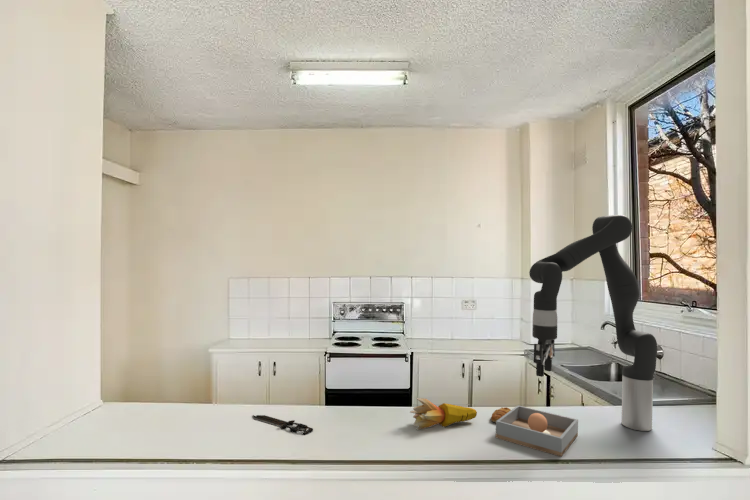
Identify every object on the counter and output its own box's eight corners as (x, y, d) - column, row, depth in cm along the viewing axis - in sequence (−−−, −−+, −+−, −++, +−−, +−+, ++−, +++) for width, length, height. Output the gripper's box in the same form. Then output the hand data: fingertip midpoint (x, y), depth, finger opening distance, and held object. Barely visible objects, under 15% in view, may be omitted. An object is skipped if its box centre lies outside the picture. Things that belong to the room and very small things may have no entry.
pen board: (517, 419, 154) (517, 416, 154) (577, 435, 142) (577, 431, 142) (495, 437, 139) (495, 433, 139) (561, 456, 126) (561, 451, 126)
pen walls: (517, 416, 154) (517, 405, 155) (577, 431, 142) (578, 419, 142) (495, 433, 139) (495, 421, 139) (561, 452, 126) (561, 438, 126)
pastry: (503, 427, 148) (504, 415, 148) (485, 421, 153) (486, 410, 153) (515, 419, 155) (515, 409, 155) (498, 415, 160) (498, 404, 160)
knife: (248, 419, 149) (248, 414, 149) (263, 413, 155) (263, 409, 155) (301, 438, 135) (301, 433, 135) (315, 431, 140) (315, 427, 140)
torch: (474, 433, 150) (410, 432, 142) (465, 415, 157) (403, 413, 149) (484, 416, 147) (418, 414, 139) (474, 398, 154) (411, 395, 145)
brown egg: (531, 427, 145) (531, 408, 145) (549, 431, 141) (550, 413, 141) (525, 432, 140) (525, 413, 140) (544, 437, 136) (544, 418, 136)
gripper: (550, 327, 133) (549, 380, 133) (562, 322, 144) (562, 371, 144) (525, 324, 138) (525, 375, 137) (539, 319, 149) (539, 367, 149)
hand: (544, 373), depth 141 cm, fingers open, 8 cm apart
